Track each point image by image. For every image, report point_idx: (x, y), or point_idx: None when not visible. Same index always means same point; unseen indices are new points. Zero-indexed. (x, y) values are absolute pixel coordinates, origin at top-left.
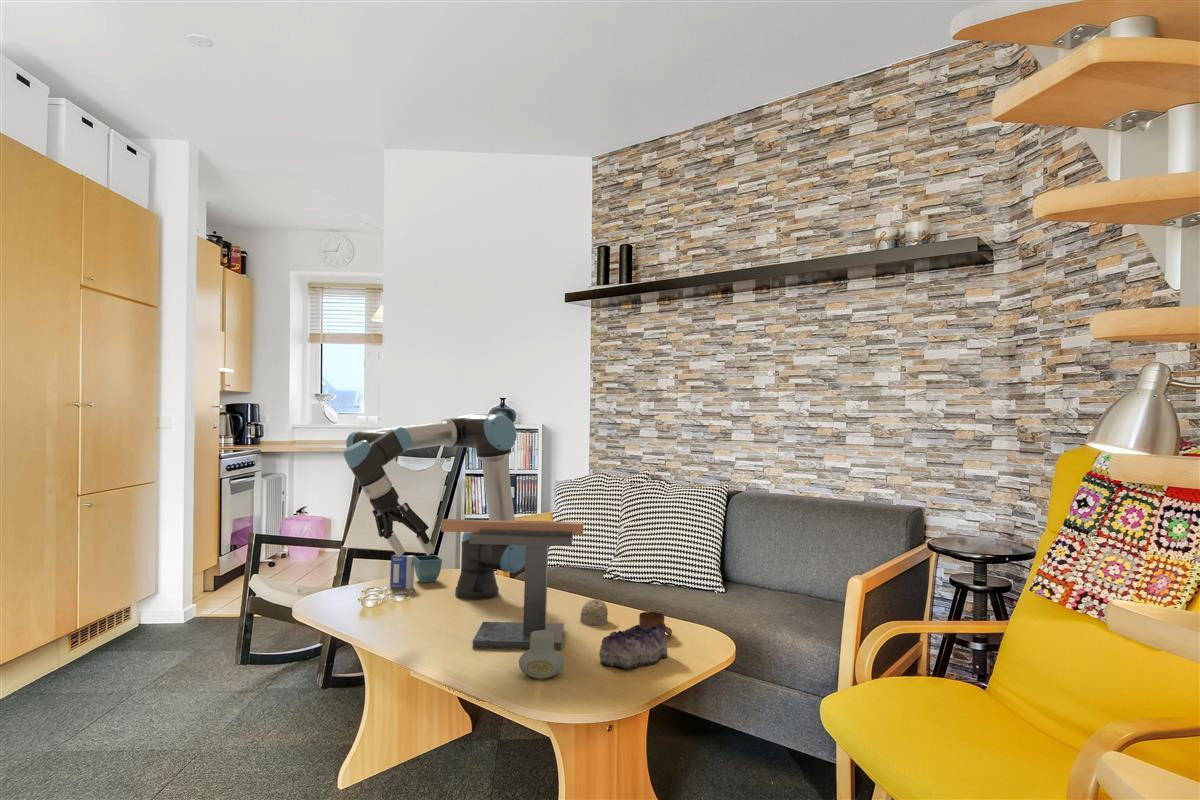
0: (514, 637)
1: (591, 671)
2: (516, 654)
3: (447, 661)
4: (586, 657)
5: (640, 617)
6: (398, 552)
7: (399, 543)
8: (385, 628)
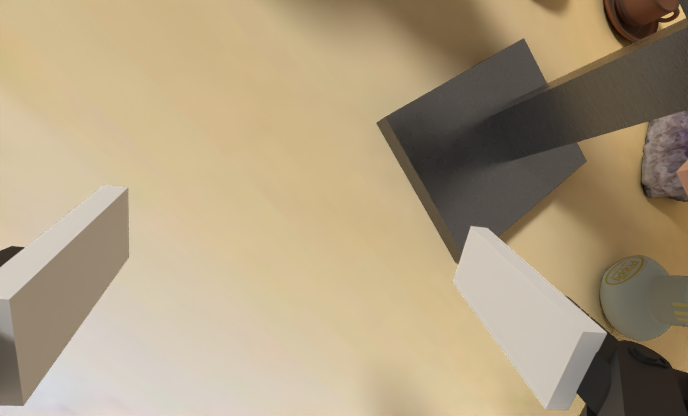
0: (513, 185)
1: (648, 229)
2: (535, 235)
3: (472, 364)
4: (614, 174)
5: (654, 3)
6: (116, 260)
7: (87, 239)
8: (131, 288)
